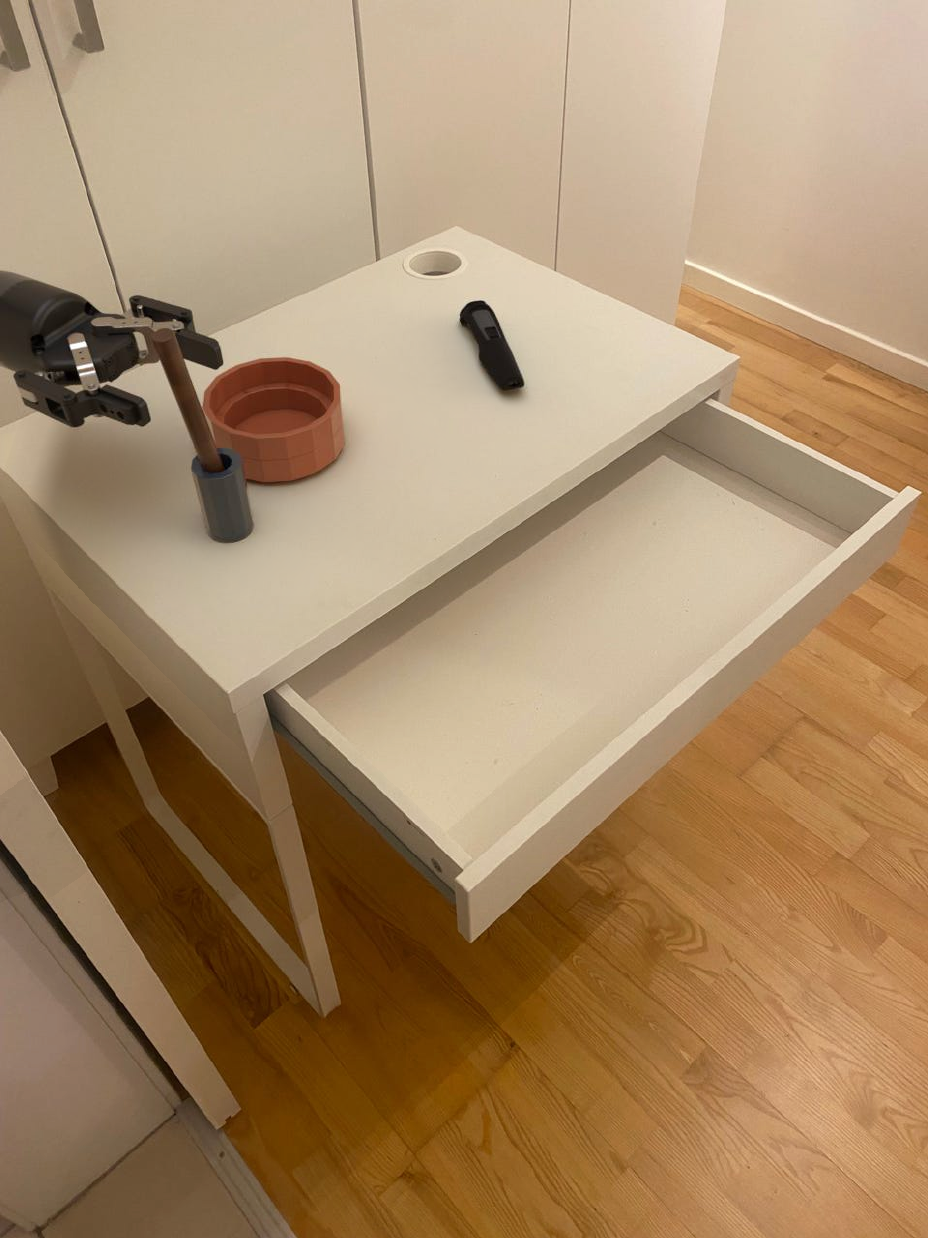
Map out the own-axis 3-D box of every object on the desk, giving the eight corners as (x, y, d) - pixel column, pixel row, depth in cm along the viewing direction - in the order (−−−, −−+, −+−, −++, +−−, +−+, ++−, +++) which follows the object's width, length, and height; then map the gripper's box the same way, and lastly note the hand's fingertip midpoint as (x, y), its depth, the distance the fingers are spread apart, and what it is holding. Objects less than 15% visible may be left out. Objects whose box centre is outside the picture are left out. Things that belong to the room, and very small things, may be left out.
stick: (224, 527, 82) (150, 343, 67) (223, 514, 83) (151, 329, 68) (242, 524, 82) (173, 339, 67) (242, 511, 83) (173, 325, 68)
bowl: (209, 490, 86) (198, 441, 82) (217, 409, 94) (207, 360, 90) (346, 482, 87) (341, 433, 83) (343, 402, 95) (338, 354, 91)
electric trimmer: (495, 405, 95) (496, 378, 93) (456, 320, 105) (457, 294, 103) (531, 400, 96) (533, 373, 94) (489, 316, 106) (491, 290, 103)
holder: (205, 544, 81) (189, 480, 76) (208, 512, 84) (193, 448, 78) (253, 541, 81) (240, 477, 76) (255, 509, 84) (242, 445, 79)
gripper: (-63, 326, 71) (105, 390, 66) (76, 245, 79) (234, 296, 74) (-26, 410, 76) (132, 475, 71) (100, 326, 85) (249, 379, 80)
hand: (184, 384), depth 73 cm, fingers open, 8 cm apart
